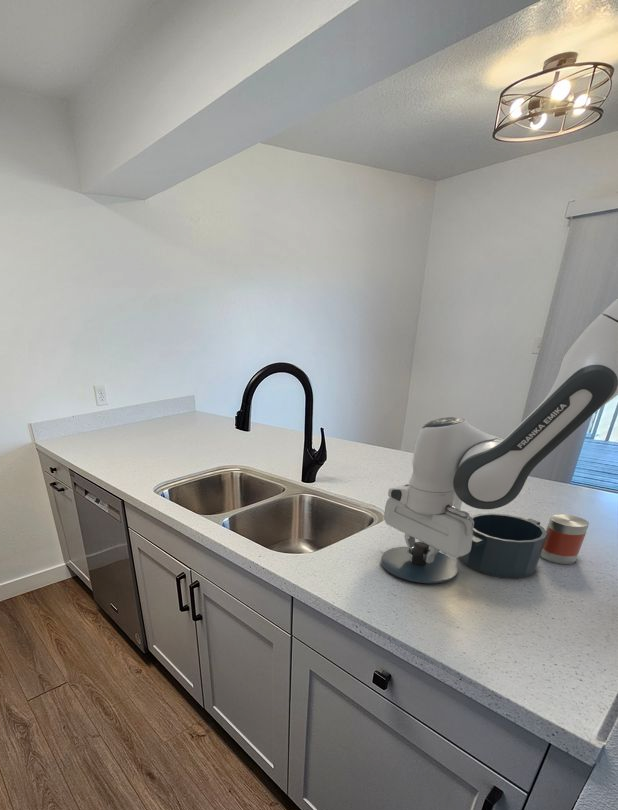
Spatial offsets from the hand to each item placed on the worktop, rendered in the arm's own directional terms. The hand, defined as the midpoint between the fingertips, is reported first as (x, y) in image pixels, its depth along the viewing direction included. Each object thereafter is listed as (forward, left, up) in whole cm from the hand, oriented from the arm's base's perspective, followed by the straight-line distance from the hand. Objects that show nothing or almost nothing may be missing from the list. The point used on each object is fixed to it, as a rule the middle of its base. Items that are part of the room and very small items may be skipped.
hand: (419, 557), depth 96 cm
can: (-11, -30, -3) cm, 32 cm away
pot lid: (0, 0, -2) cm, 2 cm away
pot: (-6, -17, -3) cm, 18 cm away
